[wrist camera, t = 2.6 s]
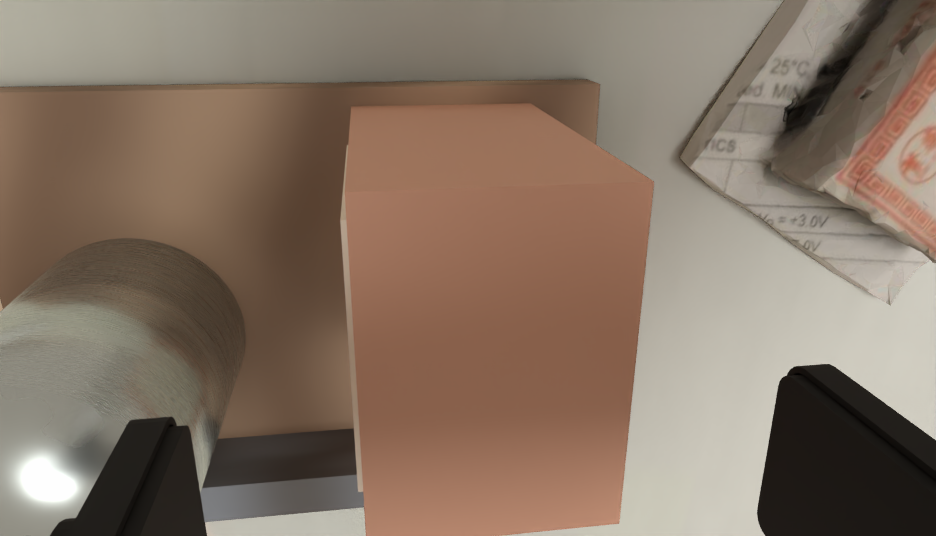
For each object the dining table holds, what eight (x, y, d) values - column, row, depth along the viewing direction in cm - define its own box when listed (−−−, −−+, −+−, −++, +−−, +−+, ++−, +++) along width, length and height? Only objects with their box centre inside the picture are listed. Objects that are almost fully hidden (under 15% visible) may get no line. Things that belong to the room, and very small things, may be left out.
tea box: (522, 326, 22) (618, 523, 14) (359, 336, 22) (360, 549, 13) (530, 103, 20) (653, 181, 11) (346, 106, 19) (336, 192, 11)
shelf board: (587, 79, 21) (630, 95, 18) (565, 423, 25) (596, 488, 22) (-29, 87, 19) (-113, 107, 15) (64, 464, 23) (14, 542, 20)
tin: (233, 233, 20) (159, 374, 13) (256, 416, 22) (204, 627, 15) (5, 243, 19) (-218, 398, 12) (53, 431, 21) (-110, 663, 14)
